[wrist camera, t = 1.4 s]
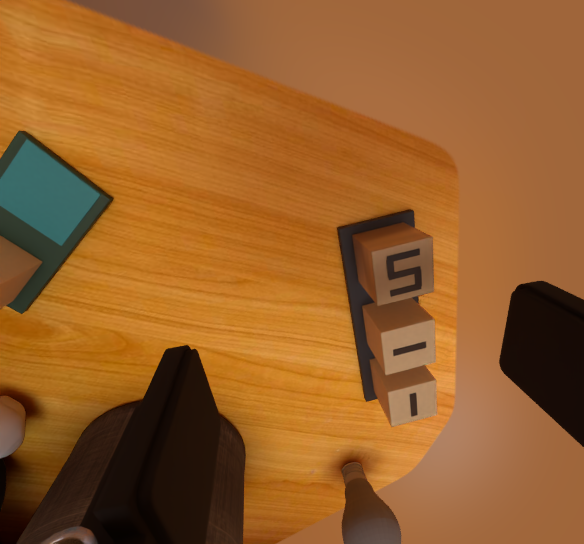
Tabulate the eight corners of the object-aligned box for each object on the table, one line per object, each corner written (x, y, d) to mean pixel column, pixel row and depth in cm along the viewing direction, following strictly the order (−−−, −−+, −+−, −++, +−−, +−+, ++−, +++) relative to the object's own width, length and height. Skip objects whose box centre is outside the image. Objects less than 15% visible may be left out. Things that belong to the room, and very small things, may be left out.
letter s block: (351, 234, 25) (371, 252, 20) (403, 221, 25) (433, 236, 21) (358, 281, 26) (378, 307, 22) (406, 269, 27) (435, 292, 22)
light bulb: (371, 443, 36) (411, 544, 27) (375, 473, 38) (413, 575, 29) (323, 456, 36) (347, 561, 27) (331, 485, 38) (355, 591, 29)
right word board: (336, 227, 25) (356, 246, 20) (410, 209, 25) (447, 223, 20) (364, 397, 33) (383, 439, 28) (420, 383, 33) (448, 422, 28)
